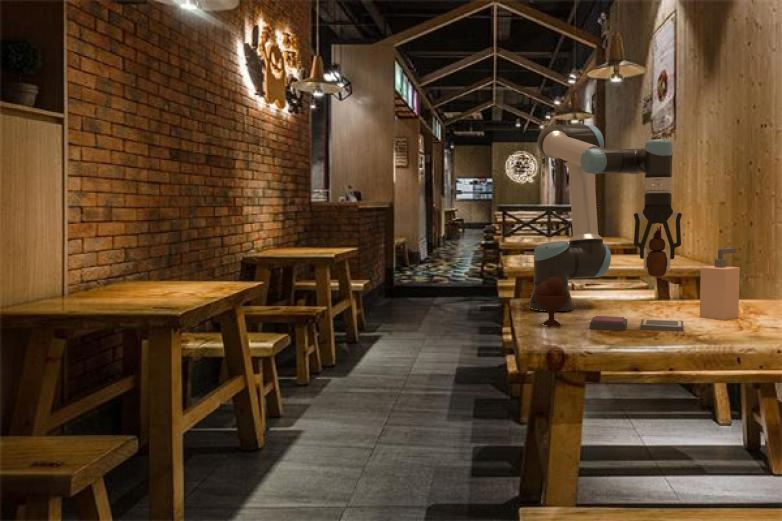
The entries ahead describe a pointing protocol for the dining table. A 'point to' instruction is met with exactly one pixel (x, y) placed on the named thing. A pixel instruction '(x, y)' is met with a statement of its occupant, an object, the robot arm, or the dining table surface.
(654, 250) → the wooden figurine
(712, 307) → the soap dispenser
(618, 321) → the ink pad
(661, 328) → the marked board
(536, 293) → the ice cream bowl
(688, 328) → the dining table surface
